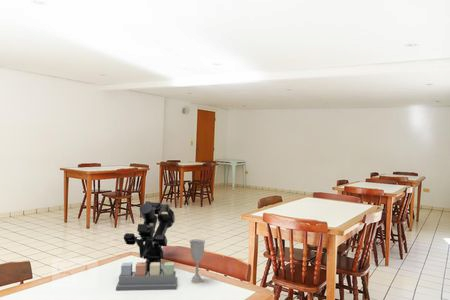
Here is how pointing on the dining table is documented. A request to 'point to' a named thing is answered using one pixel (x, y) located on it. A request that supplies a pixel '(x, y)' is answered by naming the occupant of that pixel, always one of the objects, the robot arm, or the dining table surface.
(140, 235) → the robot arm
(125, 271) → the key blue
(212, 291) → the dining table surface
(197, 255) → the chalice
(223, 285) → the dining table surface
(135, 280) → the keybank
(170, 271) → the key sage
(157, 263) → the block
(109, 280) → the dining table surface
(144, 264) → the peach rectangular block
